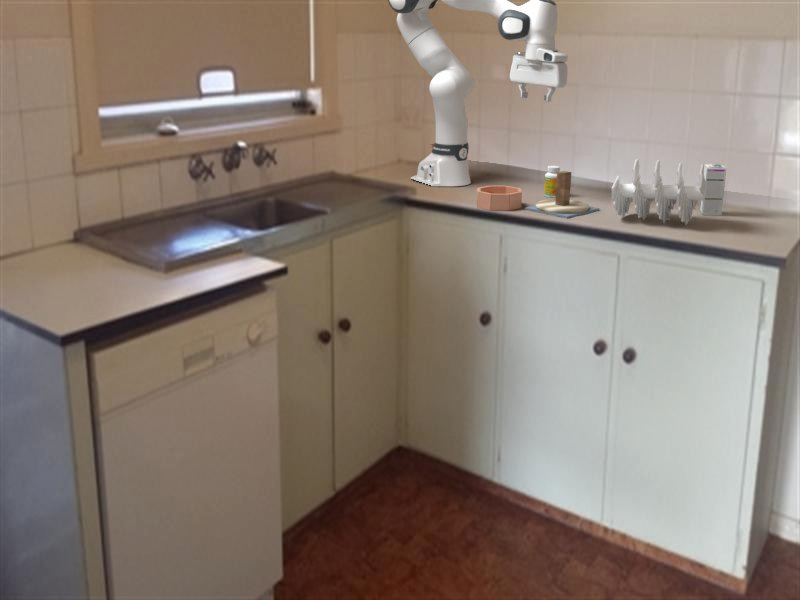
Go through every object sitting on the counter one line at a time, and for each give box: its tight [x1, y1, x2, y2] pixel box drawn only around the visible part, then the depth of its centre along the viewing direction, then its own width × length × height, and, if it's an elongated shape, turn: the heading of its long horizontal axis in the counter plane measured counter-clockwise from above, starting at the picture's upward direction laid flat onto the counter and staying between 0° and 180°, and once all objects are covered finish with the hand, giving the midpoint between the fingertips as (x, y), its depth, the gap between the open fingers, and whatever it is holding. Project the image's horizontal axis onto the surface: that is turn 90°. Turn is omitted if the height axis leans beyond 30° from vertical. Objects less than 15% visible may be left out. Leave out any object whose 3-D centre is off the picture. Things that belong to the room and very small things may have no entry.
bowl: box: [476, 185, 523, 212], centre depth 270 cm, size 14×14×5 cm
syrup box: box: [699, 163, 727, 217], centre depth 258 cm, size 6×6×14 cm
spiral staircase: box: [610, 158, 706, 226], centre depth 250 cm, size 18×18×25 cm
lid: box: [535, 170, 590, 214], centre depth 264 cm, size 16×16×11 cm
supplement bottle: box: [543, 165, 561, 199], centre depth 283 cm, size 5×5×10 cm
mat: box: [524, 204, 601, 219], centre depth 265 cm, size 16×16×1 cm
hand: (535, 99), depth 271 cm, fingers open, 8 cm apart
